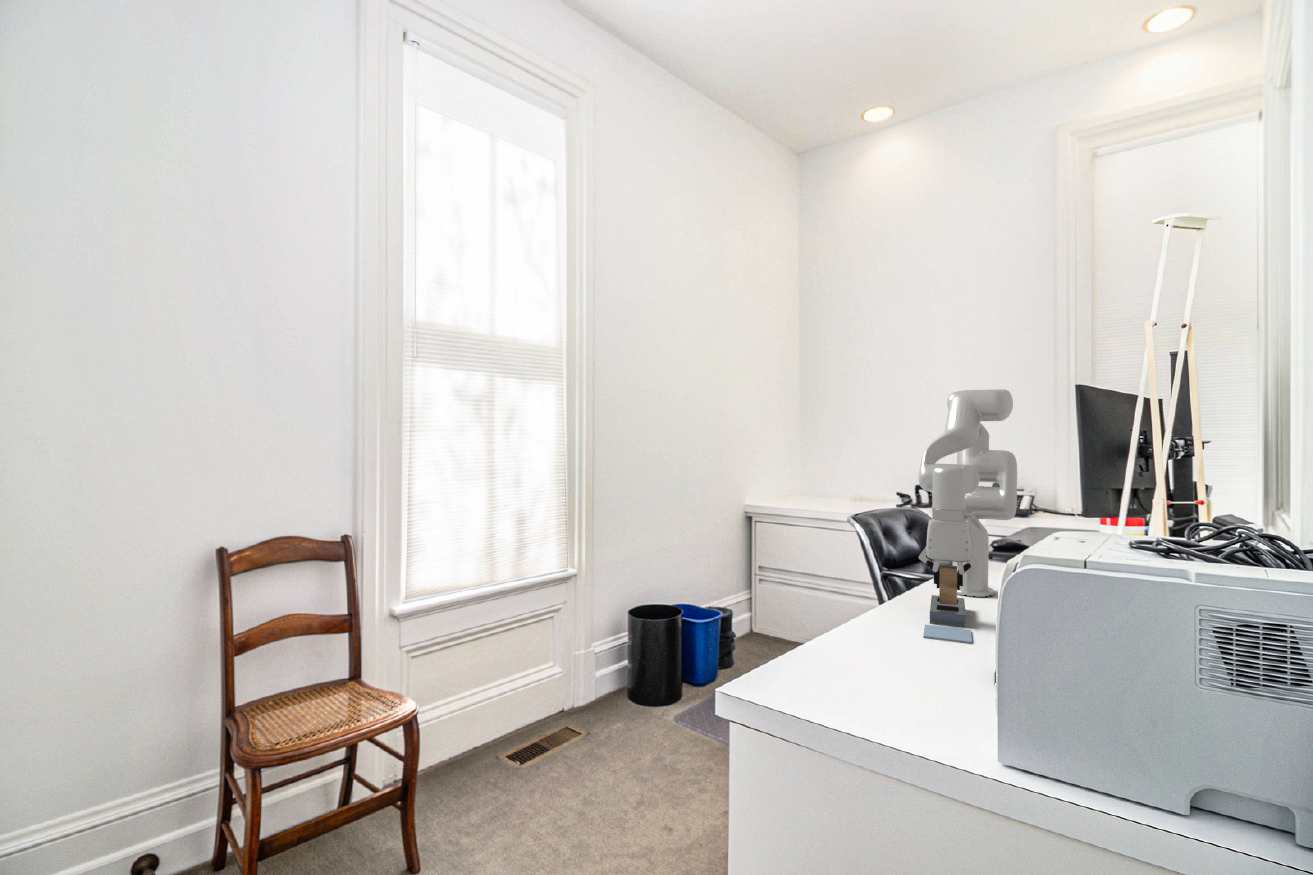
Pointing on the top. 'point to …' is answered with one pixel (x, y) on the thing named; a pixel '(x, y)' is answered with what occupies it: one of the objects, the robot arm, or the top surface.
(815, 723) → the top surface
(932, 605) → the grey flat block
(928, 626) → the pad
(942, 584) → the plug
